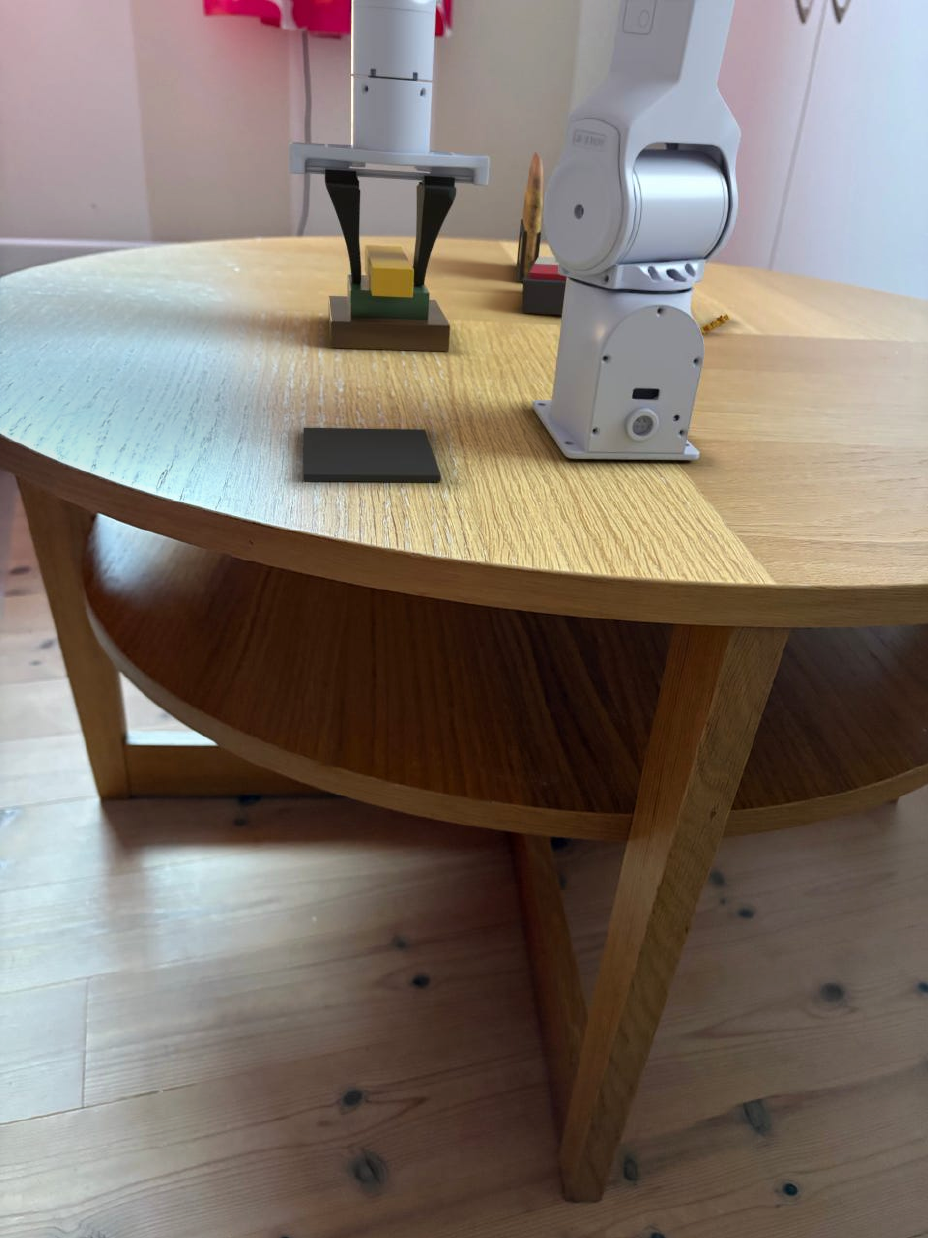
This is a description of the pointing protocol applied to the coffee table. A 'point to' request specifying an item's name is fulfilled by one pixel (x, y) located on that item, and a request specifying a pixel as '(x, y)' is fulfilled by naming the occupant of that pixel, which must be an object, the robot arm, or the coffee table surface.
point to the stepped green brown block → (386, 320)
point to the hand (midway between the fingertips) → (387, 281)
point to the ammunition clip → (531, 219)
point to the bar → (388, 271)
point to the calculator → (543, 288)
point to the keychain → (714, 324)
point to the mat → (368, 455)
